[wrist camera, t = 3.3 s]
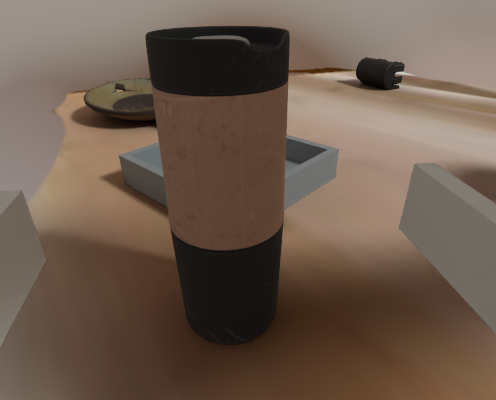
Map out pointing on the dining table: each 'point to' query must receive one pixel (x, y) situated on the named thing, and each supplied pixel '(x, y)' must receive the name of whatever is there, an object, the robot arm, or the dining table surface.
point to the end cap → (379, 73)
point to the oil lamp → (123, 99)
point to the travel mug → (223, 169)
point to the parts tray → (296, 169)
